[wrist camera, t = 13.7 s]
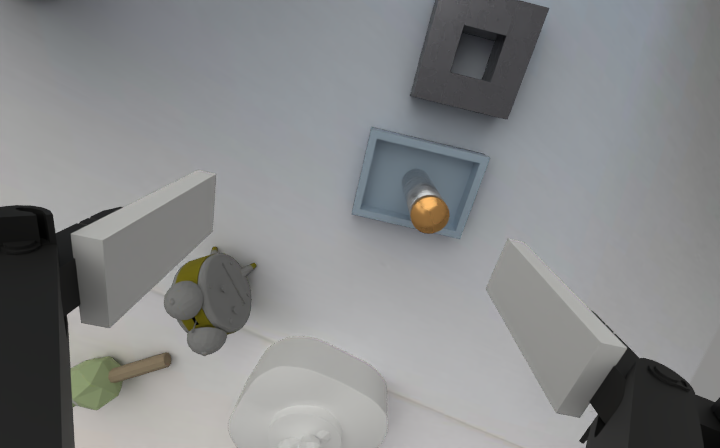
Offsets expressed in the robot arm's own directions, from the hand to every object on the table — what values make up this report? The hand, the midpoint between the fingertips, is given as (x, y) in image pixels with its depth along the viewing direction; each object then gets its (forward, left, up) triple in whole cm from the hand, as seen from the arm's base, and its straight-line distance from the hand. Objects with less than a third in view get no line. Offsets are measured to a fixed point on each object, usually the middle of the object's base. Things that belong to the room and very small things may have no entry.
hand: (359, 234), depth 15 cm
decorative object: (-38, -52, -34) cm, 73 cm away
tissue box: (+1, -50, -35) cm, 60 cm away
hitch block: (+10, +12, -34) cm, 38 cm away
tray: (+8, -5, -34) cm, 35 cm away
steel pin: (+8, -5, -34) cm, 35 cm away
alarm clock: (-16, -26, -34) cm, 46 cm away
